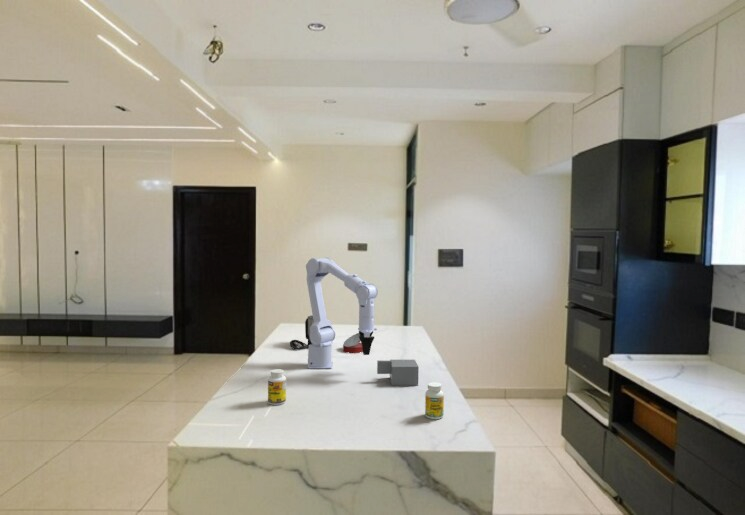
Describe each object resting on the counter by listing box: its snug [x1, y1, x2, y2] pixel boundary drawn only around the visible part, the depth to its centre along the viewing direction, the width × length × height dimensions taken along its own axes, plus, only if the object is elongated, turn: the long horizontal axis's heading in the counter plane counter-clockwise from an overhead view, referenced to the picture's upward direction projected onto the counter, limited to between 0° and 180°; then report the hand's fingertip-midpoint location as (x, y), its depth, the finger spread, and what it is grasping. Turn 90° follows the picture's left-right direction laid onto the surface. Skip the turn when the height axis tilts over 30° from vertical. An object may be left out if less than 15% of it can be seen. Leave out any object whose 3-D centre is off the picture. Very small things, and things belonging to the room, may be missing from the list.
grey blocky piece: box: [376, 359, 419, 387], centre depth 163 cm, size 14×9×8 cm, turn 93°
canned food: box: [342, 332, 363, 354], centre depth 207 cm, size 11×10×10 cm
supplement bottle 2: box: [424, 381, 445, 420], centre depth 132 cm, size 5×5×10 cm
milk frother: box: [289, 314, 323, 350], centre depth 211 cm, size 14×16×15 cm
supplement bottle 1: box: [267, 368, 287, 406], centre depth 141 cm, size 6×6×10 cm
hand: (365, 352), depth 169 cm, fingers open, 7 cm apart
